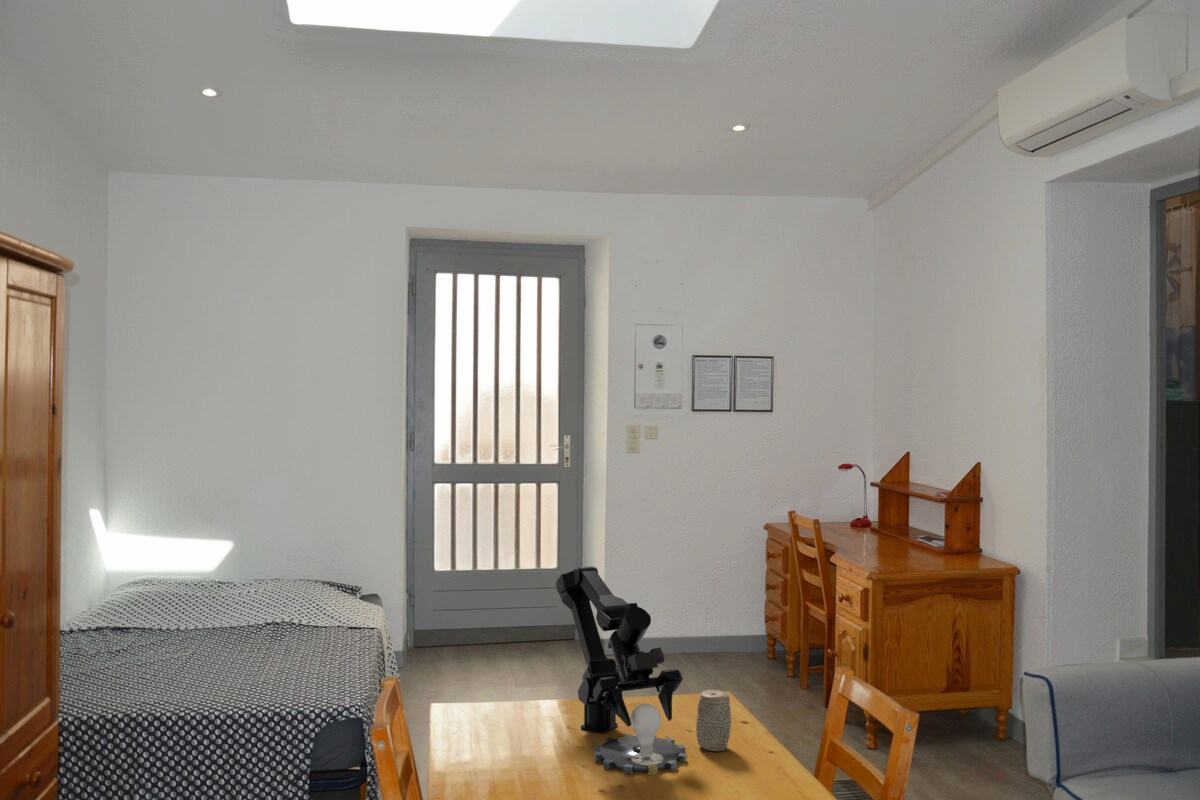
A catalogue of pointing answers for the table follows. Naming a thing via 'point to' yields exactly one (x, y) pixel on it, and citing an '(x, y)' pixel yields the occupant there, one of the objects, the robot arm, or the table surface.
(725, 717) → the carving
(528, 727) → the table surface
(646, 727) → the lightbulb
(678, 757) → the sprocket plate
